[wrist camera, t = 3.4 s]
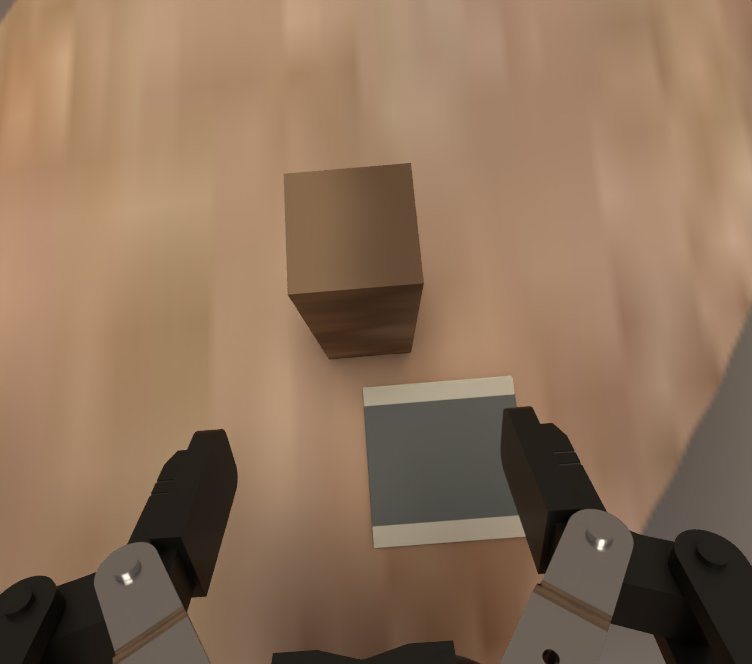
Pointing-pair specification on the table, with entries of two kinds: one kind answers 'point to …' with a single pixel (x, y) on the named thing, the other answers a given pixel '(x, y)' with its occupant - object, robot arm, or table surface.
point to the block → (354, 257)
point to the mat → (439, 462)
